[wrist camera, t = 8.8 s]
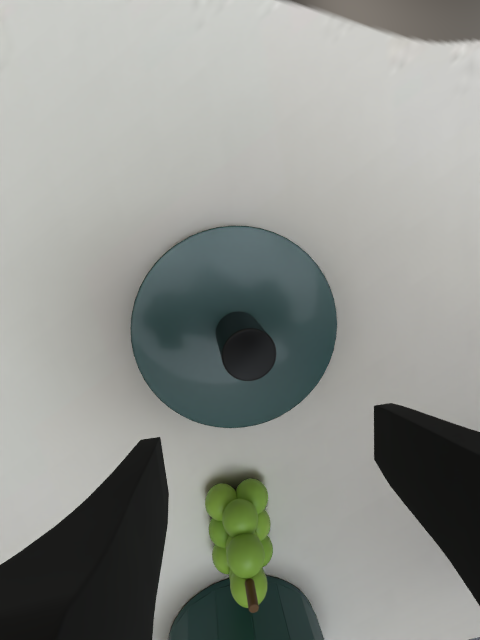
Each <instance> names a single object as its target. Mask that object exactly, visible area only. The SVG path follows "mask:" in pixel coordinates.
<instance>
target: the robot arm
mask: <svg viewBox="0 0 480 640" xmlns="http://www.w3.org/2000/svg"><path fill="white" fill-rule="evenodd" d="M374 460H375V461H376V463H377V465H378V466H379V468H380V470H381V472H382V473H383V475H384V477H385V478H386V480H387V481H388V483H389V484H390V486H391V487H392V489H393V490H394V491H395V492H396V494H397V495H398V496H399V497H400V499H401V500H402V501H403V502H404V504H405V505H406V506H407V507H408V509H409V510H410V511H411V512H412V514H413V515H414V516H415V517H416V518H417V520H418V521H419V522H420V523H421V525H422V526H423V527H424V528H425V530H426V531H427V532H428V533H429V535H430V536H431V537H432V538H433V539H434V541H435V542H436V543H437V544H438V546H439V547H440V548H441V550H442V551H443V552H444V554H445V555H446V556H447V558H448V559H449V560H450V562H451V563H452V565H453V566H454V568H455V569H456V571H457V572H458V574H459V575H460V577H461V578H462V580H463V581H464V583H465V584H466V586H467V587H468V589H469V590H470V592H471V593H472V595H473V596H474V598H475V599H476V601H477V602H478V604H479V606H480V432H478V431H474V430H471V429H468V428H465V427H462V426H459V425H456V424H453V423H450V422H447V421H444V420H441V419H438V418H436V417H433V416H430V415H427V414H424V413H421V412H419V411H416V410H413V409H410V408H407V407H404V406H400V405H396V404H392V403H389V404H383V405H376V406H374ZM168 497H169V492H168V486H167V479H166V472H165V466H164V459H163V453H162V446H161V439H160V437H157V438H150V439H144V440H140V441H139V442H138V444H137V445H136V446H135V447H134V448H133V449H132V451H131V452H130V453H129V454H128V455H127V456H126V458H125V459H124V460H123V461H122V462H121V463H120V465H119V466H118V467H117V468H116V469H115V470H114V471H113V473H112V474H111V475H110V476H109V477H108V478H107V479H106V480H105V481H104V482H103V483H102V484H101V485H100V486H99V487H98V488H97V489H96V490H95V491H94V492H93V493H92V494H91V495H90V496H89V497H88V498H87V499H86V500H85V501H84V502H83V503H82V504H81V505H80V506H78V507H77V508H76V509H75V510H74V511H73V512H72V513H70V514H69V515H68V516H67V517H66V518H64V519H63V520H62V521H61V522H60V523H59V524H57V525H56V526H55V527H53V528H52V529H51V530H49V531H48V532H47V533H45V534H44V535H43V536H41V537H40V538H39V539H37V540H36V541H34V542H33V543H32V544H30V545H29V546H28V547H26V548H25V549H24V550H22V551H21V552H19V553H18V554H16V555H15V556H13V557H12V558H10V559H9V560H7V561H6V562H4V563H3V564H1V565H0V640H152V634H153V619H154V611H155V602H156V595H157V589H158V583H159V576H160V570H161V564H162V557H163V551H164V544H165V538H166V531H167V524H168ZM469 640H480V637H478V638H474V639H469Z"/></svg>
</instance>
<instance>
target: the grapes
mask: <svg viewBox="0 0 480 640" xmlns="http://www.w3.org/2000/svg"><path fill="white" fill-rule="evenodd" d="M267 502H268V493H267V489H266V487H265V486H264V485H263V483H262V482H260V481H259V480H256V479H246V480H244V481H242V482H241V483H240V484H239V485H238V487H237V489H236V491H235V490H234V489H233V488H232V487H231V486H230V485H227V484H217V485H215V486H213V487H212V488H211V489H210V490H209V491H208V493H207V496H206V499H205V506H206V510H207V512H208V514H209V515H210V516H211V517H212V519H211V521H210V524H209V535H210V538H211V540H212V542H213V543H214V544H215V545H214V548H213V552H212V558H213V563H214V565H215V567H216V568H217V569H218V570H219V571H220V572H222V573H224V574H229V578H230V589H231V593H232V596H233V598H234V600H235V601H236V602H237V603H238V604H239V605H240V606H242V607H245V608H248V609H249V611H250V612H251V613H255V612H257V611H258V609H259V604H260V603H261V602H262V601H263V599H264V598H265V595H266V592H267V578H266V575H265V573H264V571H263V568H262V567H264V566H266V565H267V564H268V563H269V561H270V559H271V557H272V553H273V547H272V543H271V540H270V538H269V537H268V536H267V535H268V533H269V530H270V518H269V515H268V513H267V512H266V511H265V510H264V509H265V507H266V505H267Z"/></svg>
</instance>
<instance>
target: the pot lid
mask: <svg viewBox="0 0 480 640" xmlns="http://www.w3.org/2000/svg"><path fill="white" fill-rule="evenodd" d="M336 331H337V317H336V308H335V303H334V298H333V295H332V292H331V289H330V286H329V284H328V282H327V280H326V278H325V276H324V274H323V273H322V271H321V270H320V268H319V267H318V265H317V264H316V263H315V262H314V261H313V260H312V258H311V257H310V256H309V255H308V254H307V253H306V252H305V251H303V250H302V249H301V248H300V247H299V246H298V245H296V244H294V243H293V242H291V241H290V240H288V239H287V238H285V237H282V236H280V235H278V234H276V233H274V232H271V231H267V230H264V229H261V228H255V227H249V226H226V227H217V228H213V229H209V230H206V231H202V232H200V233H197V234H195V235H193V236H190V237H188V238H187V239H185V240H183V241H181V242H180V243H178V244H176V245H175V246H174V247H173V248H171V249H170V250H169V251H167V252H166V253H165V254H164V255H163V256H162V257H161V258H160V259H159V260H158V261H157V262H156V263H155V265H154V266H153V267H152V269H151V270H150V271H149V273H148V274H147V276H146V277H145V279H144V281H143V283H142V285H141V286H140V289H139V291H138V294H137V297H136V299H135V303H134V307H133V311H132V318H131V342H132V348H133V353H134V357H135V360H136V363H137V365H138V368H139V370H140V372H141V374H142V376H143V378H144V380H145V381H146V383H147V384H148V386H149V387H150V389H151V390H152V391H153V392H154V393H155V395H156V396H157V397H158V398H159V399H160V400H161V401H162V402H163V403H165V404H166V405H167V406H168V407H169V408H171V409H172V410H174V411H175V412H177V413H178V414H180V415H182V416H184V417H186V418H188V419H190V420H192V421H195V422H198V423H201V424H204V425H209V426H214V427H223V428H239V427H247V426H253V425H257V424H261V423H264V422H267V421H270V420H272V419H274V418H277V417H279V416H281V415H282V414H284V413H286V412H288V411H289V410H291V409H292V408H293V407H295V406H296V405H297V404H299V403H300V402H301V401H302V400H303V399H304V398H305V397H306V396H307V395H308V394H309V393H310V392H311V391H312V390H313V389H314V387H315V386H316V385H317V384H318V382H319V380H320V379H321V377H322V376H323V374H324V372H325V370H326V368H327V366H328V364H329V362H330V359H331V356H332V353H333V350H334V345H335V340H336Z"/></svg>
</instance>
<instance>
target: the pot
mask: <svg viewBox="0 0 480 640" xmlns="http://www.w3.org/2000/svg"><path fill="white" fill-rule="evenodd" d="M266 578H267V592H266V595H265V598H264V599H263V601H262V602H261V603H260V604H259V609H258V611H257V612H255V613H251V612H250V611H249V609H248V608H245V607H242V606H240V605H239V604H238V603H237V602H236V601H235V600H234V598H233V596H232V593H231V589H230V579H227V580H224V581H221V582H218V583H216V584H214V585H212V586H210V587H208V588H206V589H205V590H203V591H201V592H200V593H199V594H197V595H196V596H195V597H193V598H192V599H191V600H190V601H189V602H188V603H187V604H186V605H185V606H184V608H183V609H182V610H181V611H180V613H179V614H178V616H177V617H176V619H175V621H174V623H173V625H172V627H171V631H170V634H169V640H324V638H323V635H322V632H321V629H320V626H319V623H318V620H317V617H316V614H315V612H314V611H313V609H312V607H311V604H310V602H309V601H308V599H307V598H306V596H305V595H304V594H303V593H302V592H301V591H300V590H299V589H297V588H296V587H295V586H293V585H292V584H290V583H288V582H286V581H284V580H281V579H278V578H274V577H270V576H266Z"/></svg>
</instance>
